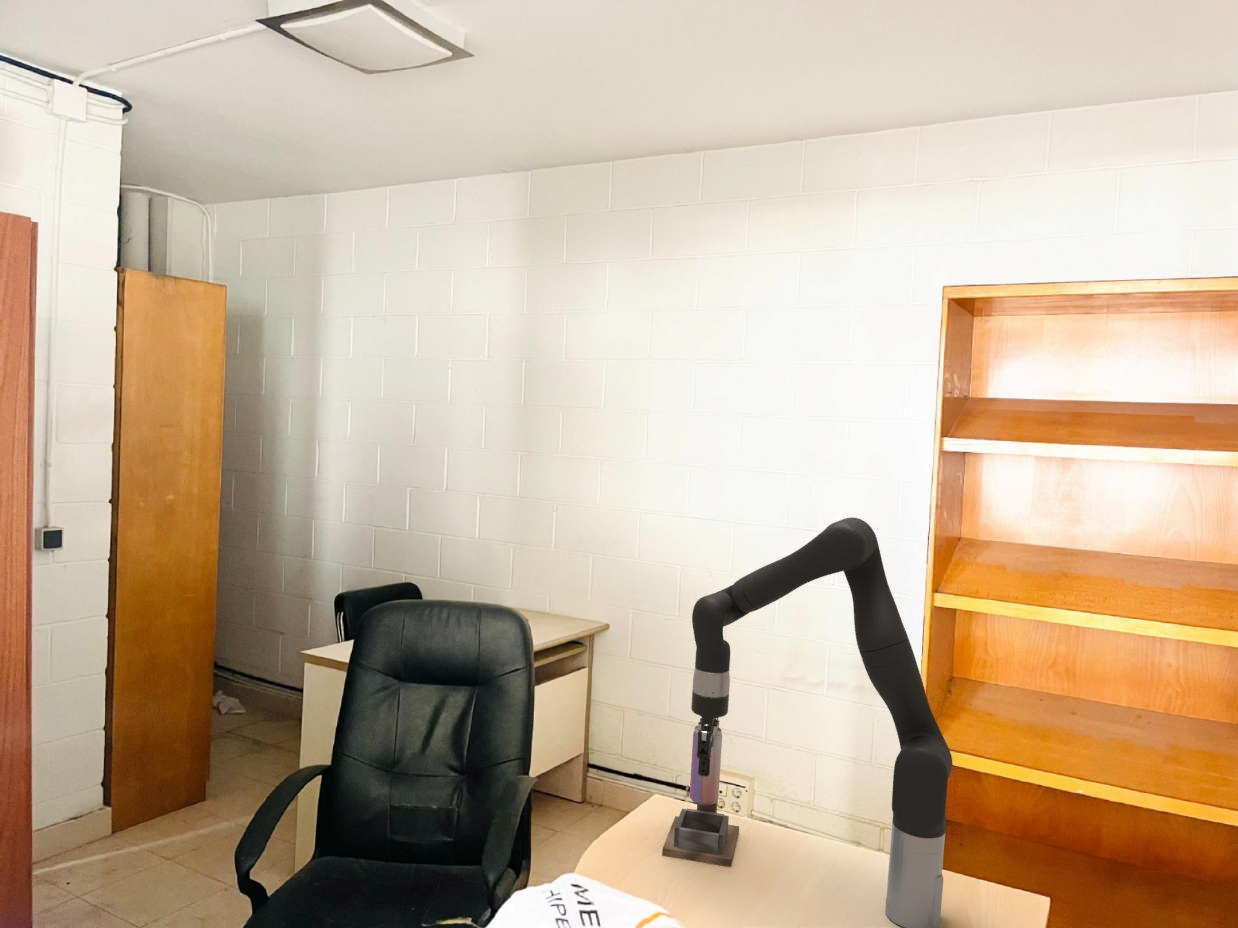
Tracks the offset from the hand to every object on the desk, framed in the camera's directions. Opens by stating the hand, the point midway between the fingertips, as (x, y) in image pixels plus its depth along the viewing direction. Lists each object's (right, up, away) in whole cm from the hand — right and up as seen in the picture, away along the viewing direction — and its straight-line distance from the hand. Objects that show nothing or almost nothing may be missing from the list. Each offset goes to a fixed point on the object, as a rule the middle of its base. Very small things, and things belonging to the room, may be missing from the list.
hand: (705, 768), depth 189 cm
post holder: (-1, -17, +3) cm, 17 cm away
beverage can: (0, -7, +1) cm, 7 cm away
